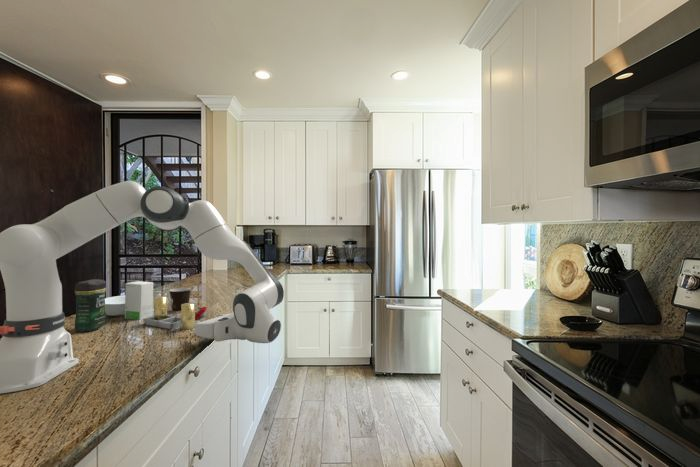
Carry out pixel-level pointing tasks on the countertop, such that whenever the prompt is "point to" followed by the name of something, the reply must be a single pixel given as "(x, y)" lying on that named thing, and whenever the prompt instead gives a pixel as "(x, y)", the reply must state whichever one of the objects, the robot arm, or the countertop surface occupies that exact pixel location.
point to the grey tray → (165, 322)
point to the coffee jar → (90, 305)
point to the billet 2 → (187, 316)
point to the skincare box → (138, 300)
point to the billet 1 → (160, 307)
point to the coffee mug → (179, 297)
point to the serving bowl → (115, 305)
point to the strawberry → (200, 312)
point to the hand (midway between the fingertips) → (208, 320)
